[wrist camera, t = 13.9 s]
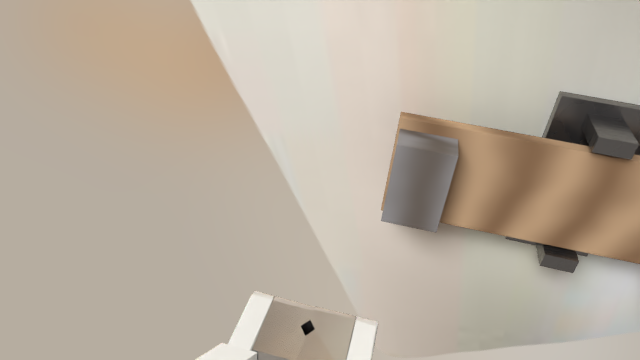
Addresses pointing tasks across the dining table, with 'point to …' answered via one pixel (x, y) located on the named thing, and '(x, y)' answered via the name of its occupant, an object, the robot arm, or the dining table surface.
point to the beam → (513, 187)
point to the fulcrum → (601, 136)
